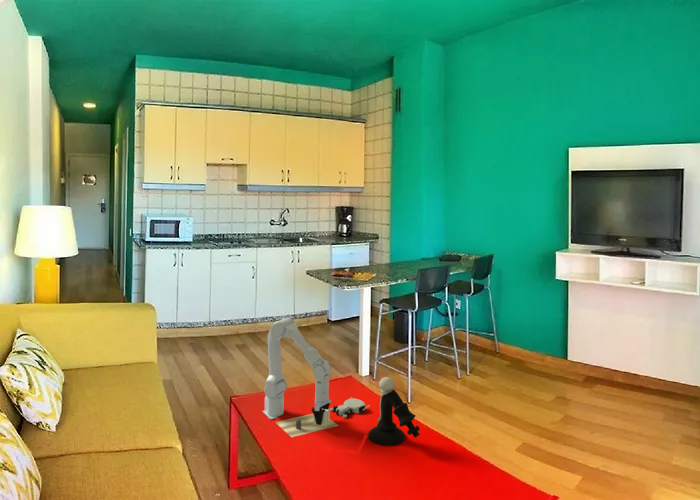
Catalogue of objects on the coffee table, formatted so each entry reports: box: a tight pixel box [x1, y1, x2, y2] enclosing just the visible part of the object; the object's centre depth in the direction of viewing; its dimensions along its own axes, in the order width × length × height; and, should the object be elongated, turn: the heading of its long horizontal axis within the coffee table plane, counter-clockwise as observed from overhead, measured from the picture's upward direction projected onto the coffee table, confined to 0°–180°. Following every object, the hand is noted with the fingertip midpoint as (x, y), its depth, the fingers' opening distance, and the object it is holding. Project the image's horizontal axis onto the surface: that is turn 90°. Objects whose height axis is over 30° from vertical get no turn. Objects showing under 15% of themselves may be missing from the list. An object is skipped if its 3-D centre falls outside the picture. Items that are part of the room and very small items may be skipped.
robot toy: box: [329, 396, 370, 418], centre depth 237 cm, size 12×4×15 cm
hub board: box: [275, 413, 339, 438], centre depth 223 cm, size 16×22×4 cm
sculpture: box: [367, 376, 420, 447], centre depth 210 cm, size 15×24×25 cm, turn 46°
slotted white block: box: [314, 409, 330, 426], centre depth 224 cm, size 5×5×5 cm
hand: (321, 420), depth 224 cm, fingers open, 7 cm apart
